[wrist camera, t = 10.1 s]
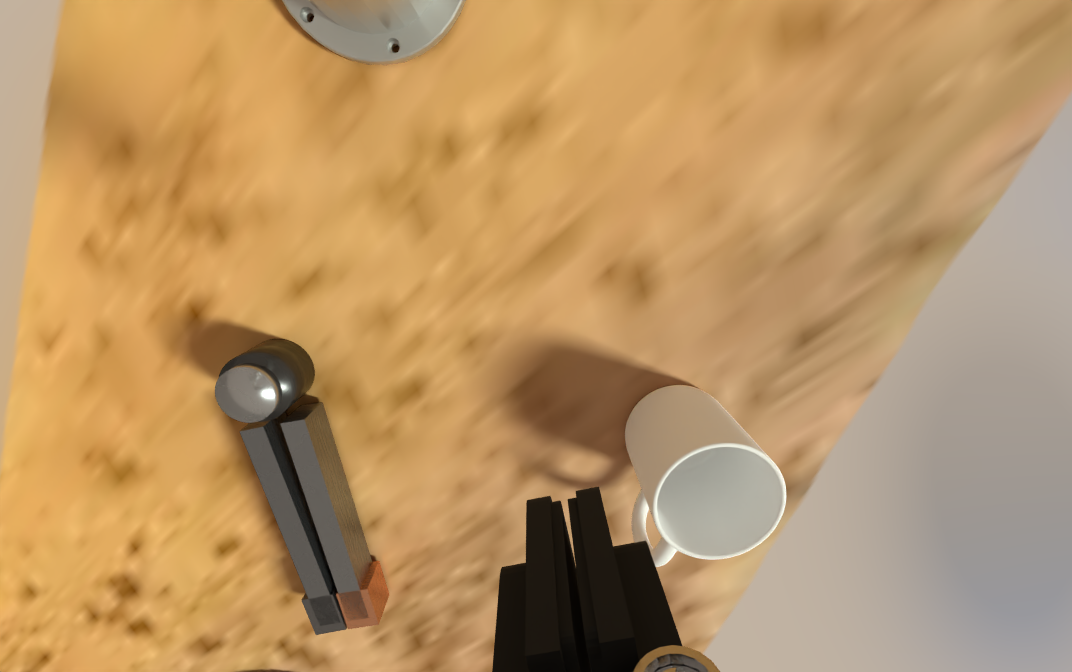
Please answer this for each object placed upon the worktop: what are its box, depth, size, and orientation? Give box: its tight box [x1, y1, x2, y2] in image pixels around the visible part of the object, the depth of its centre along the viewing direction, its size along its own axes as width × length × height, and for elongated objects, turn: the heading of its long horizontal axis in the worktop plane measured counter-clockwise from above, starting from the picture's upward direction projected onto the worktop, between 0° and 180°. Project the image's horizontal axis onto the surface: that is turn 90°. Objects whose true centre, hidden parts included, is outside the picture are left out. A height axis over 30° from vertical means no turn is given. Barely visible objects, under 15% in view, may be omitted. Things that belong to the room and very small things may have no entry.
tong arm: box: [215, 363, 389, 629], centre depth 38 cm, size 24×5×5 cm, turn 10°
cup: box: [625, 385, 786, 567], centre depth 36 cm, size 8×12×10 cm
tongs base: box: [219, 339, 347, 635], centre depth 39 cm, size 24×6×4 cm, turn 12°
